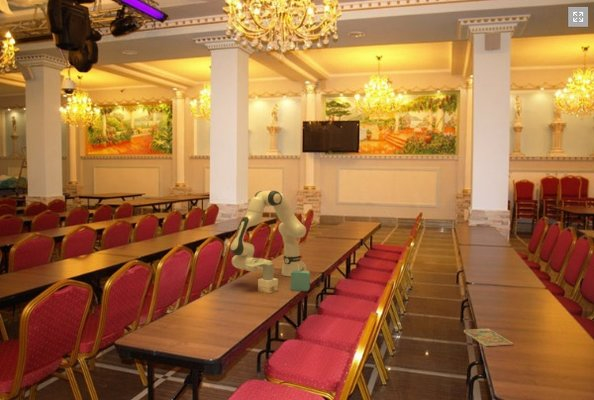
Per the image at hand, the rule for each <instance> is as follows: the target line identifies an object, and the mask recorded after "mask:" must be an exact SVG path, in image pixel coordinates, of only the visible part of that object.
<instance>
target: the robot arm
mask: <svg viewBox="0 0 594 400" xmlns="http://www.w3.org/2000/svg"><path fill="white" fill-rule="evenodd" d="M265 207H273V210H274V212H275V213H276V216H277V218H278V219H279V221H280V223H279V225H278V232H279V234H280V235H281V237H282V242H283V248H284V250H283V252H284V253H283V261H282V268H281V270H280V273H281V275H282V276H285V277H291V273H292V272H293V271H308V272H310V270H307V266H306V264H305V263H304V261H302V260H301V259H303V255H301V254H300V243H299V242H298V241H297V239H300V238H304V237H305V236H306V234H307V227H306V226H305V225H304V224H302V222H300V220H299V219H298V217H296V215H295V214H294V212H293V210H292V208H291V206H290V202H289V200H288V199H287V197H286V196H285V194H283V193H282V192H279V191H277V190H270V189H269V190H260V191H258V192H256V193H255V194H254V196H253V197H251V199H250V201H249V203H248V206H247V210H246V213H245V215H244V217H242V218H241V220H240V222H239V224H238V227H237V229H236V231H235V235H234V237H233V239H232V241H231V243H230V246H229V250H230V253H231V254H232V255H233V257H232V258H231V264H232V266H233V267H235V268H236V269H238V270H244V271H248V272H256V271H263V270H264V267H263V264H264V263H273V261H272V260H270V259H265V258H262V257H254V254H255V250H256V249H255V246H254V245H253V244H252V243H249V242H247V241H244V238H245V236H246V233H247V230H248V229H249V228H250V227H254V226H257V225H259V224H260V222H261V221H262V219H263V214H264V210H265Z"/></svg>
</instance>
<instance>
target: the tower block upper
mask: <svg viewBox="0 0 594 400" xmlns="http://www.w3.org/2000/svg"><path fill="white" fill-rule="evenodd" d="M258 285H259V286H263V287H267V288H270V287H273V286H277V285H279V278H277V277H276V278H275V277H273V279H272V280H264V279H263V277H261V278H258V279H257V286H258Z"/></svg>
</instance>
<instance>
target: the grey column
mask: <svg viewBox="0 0 594 400" xmlns="http://www.w3.org/2000/svg"><path fill="white" fill-rule="evenodd" d="M274 266H275V264H274V263H273V262H272V263H264V264H263V267H264V270H262V278H263V279H264V280H272V279H273V278H274V274H275V273H274Z"/></svg>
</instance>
